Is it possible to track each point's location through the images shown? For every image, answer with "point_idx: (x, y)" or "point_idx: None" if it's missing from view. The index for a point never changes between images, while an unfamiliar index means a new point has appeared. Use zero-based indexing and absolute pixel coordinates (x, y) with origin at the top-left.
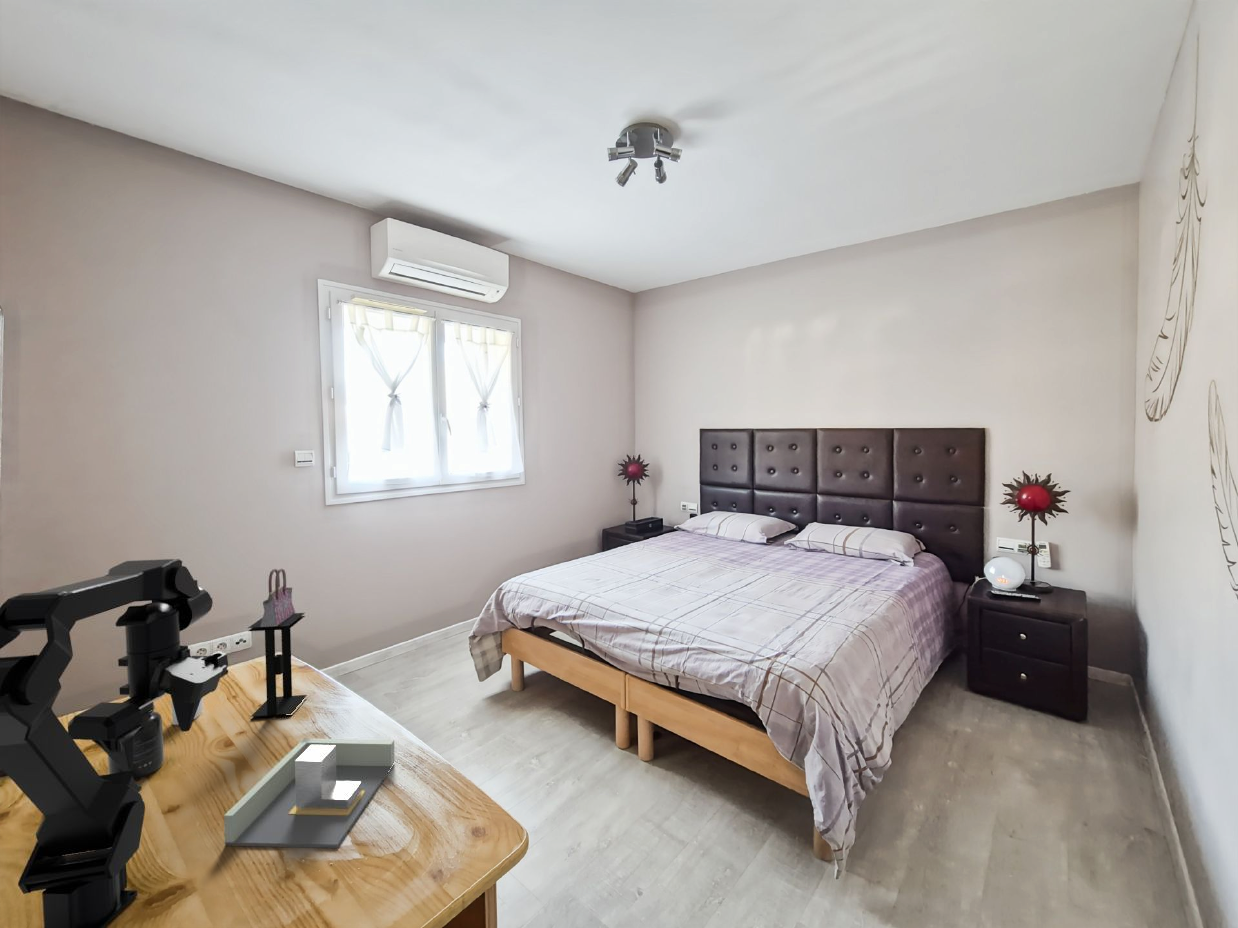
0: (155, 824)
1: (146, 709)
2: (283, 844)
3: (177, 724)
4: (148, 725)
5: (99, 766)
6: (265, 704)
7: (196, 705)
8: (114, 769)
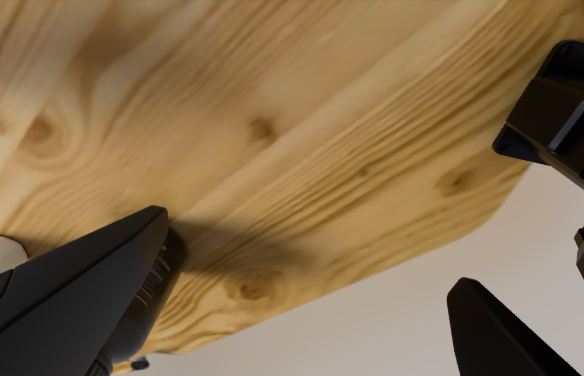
0: (307, 137)
1: None
2: None
3: (24, 252)
4: None
5: None
6: None
7: (9, 288)
8: (177, 279)
